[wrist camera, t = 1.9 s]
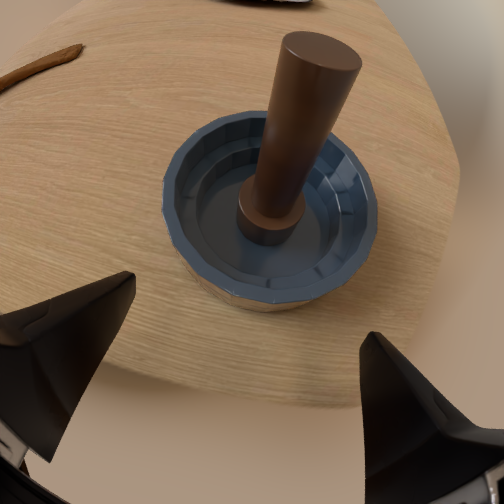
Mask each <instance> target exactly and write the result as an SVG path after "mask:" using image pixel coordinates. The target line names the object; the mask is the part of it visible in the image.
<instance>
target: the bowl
mask: <svg viewBox="0 0 504 504" xmlns="http://www.w3.org/2000/svg"><path fill="white" fill-rule="evenodd" d="M267 112H268V111H246V112H241V113H237V114H233V115H228V116H224V117H221V118H218V119H216V120H214V121H212V122H211V123H209V124H207V125H205V126H203V127H202V128H200V129H198V130H196V131H195V132H194V133H193V134H192V135H191V136H190V137H189V138H188V139H187V140H186V141H185V142H184V143H183V145H182V146H181V147H180V148H179V149H178V150H177V151H176V152H175V154H174V156H173V158H172V160H171V162H170V165H169V167H168V169H167V171H166V174H165V176H164V178H163V179H164V180H163V189H162V209H161V210H162V214H163V218H164V221H165V224H166V227H167V230H168V233H169V236H170V238H171V241H172V244H173V246H174V248H175V249H176V251H177V253H178V255H179V257H180V259H181V261H182V262H183V264H184V266H185V267H186V268H187V269H188V271H189V272H190V273H191V274H192V276H193V277H194V278H195V279H196V280H197V282H198V283H199V284H200V285H201V286H202V287H203V288H204V289H205V290H207V291H208V292H210V293H212V294H213V295H215V296H216V297H218V298H220V299H221V300H223V301H225V302H226V303H228V304H231V305H232V306H237V307H241V308H245V309H250V310H254V311H259V312H269V311H279V310H288V309H293V308H296V307H299V306H301V305H303V304H305V303H308V302H310V301H312V300H314V299H316V298H318V297H320V296H322V295H324V294H326V293H328V292H330V291H332V290H334V289H336V288H338V287H340V286H342V285H344V284H345V283H346V282H347V281H348V280H349V279H350V278H351V277H352V276H353V275H354V273H355V272H356V271H357V270H358V269H359V268H360V267H361V266H362V265H363V263H364V262H365V261H366V259H367V258H368V255H369V252H370V250H371V247H372V244H373V242H374V239H375V236H376V234H377V200H376V196H375V193H374V190H373V187H372V184H371V181H370V178H369V176H368V173H367V172H366V170H365V168H364V167H363V165H362V164H361V162H360V161H359V159H358V158H357V157H356V155H355V154H354V152H353V151H352V150H351V149H350V148H349V147H347V146H346V145H345V144H344V143H343V142H342V141H341V140H340V139H338V138H337V137H336V136H335V135H334V134H333V133H330V134H329V136H328V138H327V140H326V142H325V144H324V146H323V148H322V150H321V152H320V154H319V156H318V158H317V160H316V162H315V164H314V166H313V168H312V170H311V172H310V174H309V176H308V178H307V180H306V182H305V184H304V186H303V188H302V191H303V193H304V196H305V201H306V206H305V211H304V214H303V216H302V218H301V219H300V221H299V223H298V224H297V226H296V227H295V229H294V231H293V232H292V234H291V235H290V236H289V238H288V239H286V240H285V241H284V242H282V243H280V244H277V245H272V246H264V245H259V244H256V243H254V242H252V241H250V240H249V239H247V238H246V237H245V236H244V235H243V234H242V232H241V231H240V229H239V227H238V224H237V218H236V215H237V205H238V196H239V191H240V188H241V186H242V184H243V183H244V182H245V181H246V179H248V178H249V177H250V176H252V175H254V174H255V173H256V168H257V162H258V157H259V152H260V147H261V142H262V137H263V132H264V127H265V122H266V117H267Z"/></svg>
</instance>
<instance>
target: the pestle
mask: <svg viewBox="0 0 504 504" xmlns="http://www.w3.org/2000/svg"><path fill="white" fill-rule="evenodd" d="M361 67H362V60H361V58H360V56H359V55H358V54H357V53H356V52H355V51H354V50H353V49H352V48H350V47H349V46H348V45H346V44H344V43H343V42H341V41H339V40H337V39H334V38H332V37H329V36H326V35H323V34H319V33H314V32H306V31H298V32H292V33H289V34H287V35H285V36H284V38H283V40H282V44H281V49H280V53H279V58H278V63H277V68H276V73H275V77H274V82H273V87H272V92H271V97H270V102H269V107H268V112H267V117H266V122H265V127H264V132H263V137H262V142H261V147H260V152H259V157H258V162H257V168H256V173H255V174H254V175H252V176H250V177H249V178H248V179H246V181H245V182H244V183H243V184H242V186H241V188H240V191H239V196H238V205H237V215H236V218H237V224H238V227H239V229H240V231H241V232H242V234H243V235H244V236H245V237H246V238H247V239H249V240H250V241H252V242H254V243H256V244H259V245H264V246H272V245H277V244H280V243H282V242H284V241H285V240H286V239H288V238H289V236H290V235H291V234H292V232H293V231H294V229H295V227H296V226H297V224H298V223H299V221H300V219H301V218H302V216H303V214H304V211H305V206H306V201H305V196H304V193H303V191H302V188H303V186H304V184H305V182H306V180H307V178H308V176H309V174H310V172H311V170H312V168H313V166H314V164H315V162H316V160H317V158H318V156H319V154H320V152H321V150H322V148H323V146H324V144H325V142H326V140H327V138H328V136H329V134H330V132H331V130H332V128H333V126H334V124H335V122H336V120H337V117H338V115H339V113H340V111H341V109H342V107H343V105H344V103H345V101H346V99H347V97H348V95H349V92H350V90H351V88H352V86H353V84H354V82H355V80H356V78H357V76H358V74H359V71H360V69H361Z"/></svg>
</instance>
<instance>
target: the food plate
mask: <svg viewBox="0 0 504 504" xmlns="http://www.w3.org/2000/svg"><path fill="white" fill-rule="evenodd" d="M263 1H265V0H263ZM275 1H280V2H282V1H296V2H309V1H312V0H275Z"/></svg>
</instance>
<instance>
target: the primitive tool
mask: <svg viewBox="0 0 504 504" xmlns="http://www.w3.org/2000/svg"><path fill="white" fill-rule="evenodd" d="M81 48H82V44H78V45H77V44H76V45H73V46H70V47H68V48H65V49H62V50H60V51H57V52H54V53H52V54H49V55H47V56H45V57H42V58H40V59H38V60H36V61H34V62H32V63H29V64H27V65H25V66H23V67H21V68H19V69H16V70H14V71H13V72H11V73H9V74H7V75H5V76H3V77H1V78H0V92H1V91H2V89H3V88H5V87H6V86H9V85H11V84H12V83H14V82H17V81H19V80H21V79H25V78H27V77H28V76H29V75H31V74H34V73H36V72H38V71H41V70H43V69H46V68H50V67H52V66H54V65H58V64H61V63H64V62H68V61H70V60H73V59H75V58H76V57H77V56H78V54H79V52H80V50H81Z"/></svg>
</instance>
